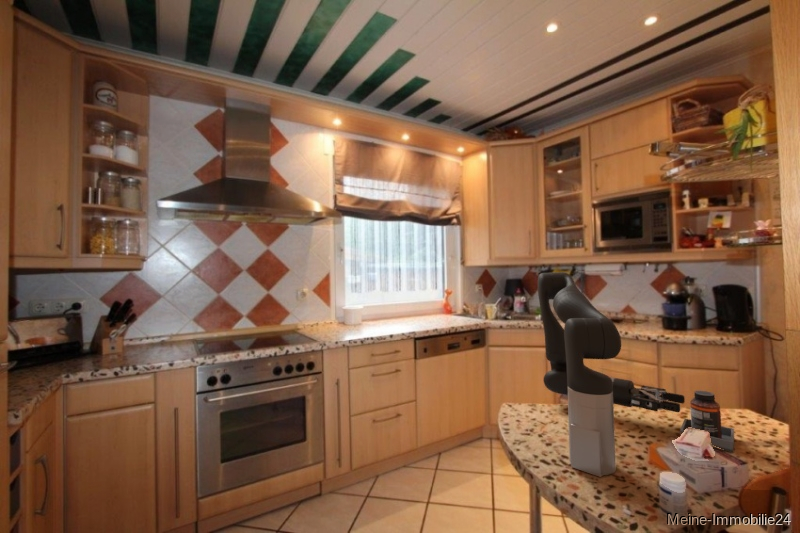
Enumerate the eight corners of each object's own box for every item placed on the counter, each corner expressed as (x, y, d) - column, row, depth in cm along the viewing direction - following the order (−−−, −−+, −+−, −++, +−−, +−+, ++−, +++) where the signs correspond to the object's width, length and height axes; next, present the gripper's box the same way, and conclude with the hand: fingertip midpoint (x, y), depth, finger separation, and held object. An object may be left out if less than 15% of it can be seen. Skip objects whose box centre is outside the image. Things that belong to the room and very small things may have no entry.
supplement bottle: (710, 431, 94) (708, 389, 95) (728, 442, 88) (726, 396, 89) (685, 431, 95) (684, 388, 95) (702, 441, 89) (700, 396, 89)
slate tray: (733, 452, 85) (733, 442, 85) (680, 439, 92) (680, 430, 92) (734, 438, 92) (733, 428, 92) (685, 427, 99) (684, 418, 99)
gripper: (606, 383, 102) (678, 396, 90) (619, 373, 112) (685, 383, 100) (607, 409, 101) (679, 426, 90) (620, 397, 112) (686, 410, 100)
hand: (682, 403), depth 95 cm, fingers open, 8 cm apart
